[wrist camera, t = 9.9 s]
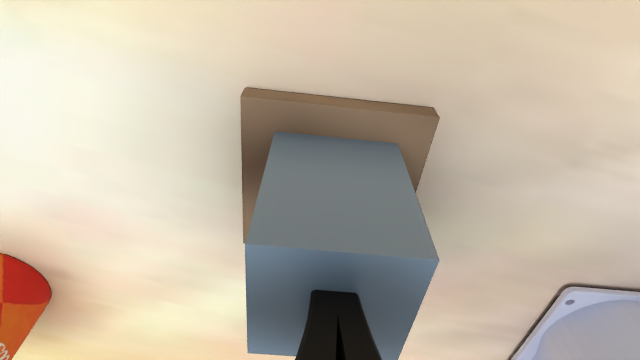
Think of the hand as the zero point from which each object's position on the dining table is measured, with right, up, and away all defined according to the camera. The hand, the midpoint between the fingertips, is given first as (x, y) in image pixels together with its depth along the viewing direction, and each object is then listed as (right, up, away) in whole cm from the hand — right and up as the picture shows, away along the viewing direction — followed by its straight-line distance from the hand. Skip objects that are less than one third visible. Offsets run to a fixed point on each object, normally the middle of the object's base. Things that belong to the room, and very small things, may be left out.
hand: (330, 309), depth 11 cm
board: (0, +4, +6) cm, 8 cm away
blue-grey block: (0, +4, +5) cm, 6 cm away
